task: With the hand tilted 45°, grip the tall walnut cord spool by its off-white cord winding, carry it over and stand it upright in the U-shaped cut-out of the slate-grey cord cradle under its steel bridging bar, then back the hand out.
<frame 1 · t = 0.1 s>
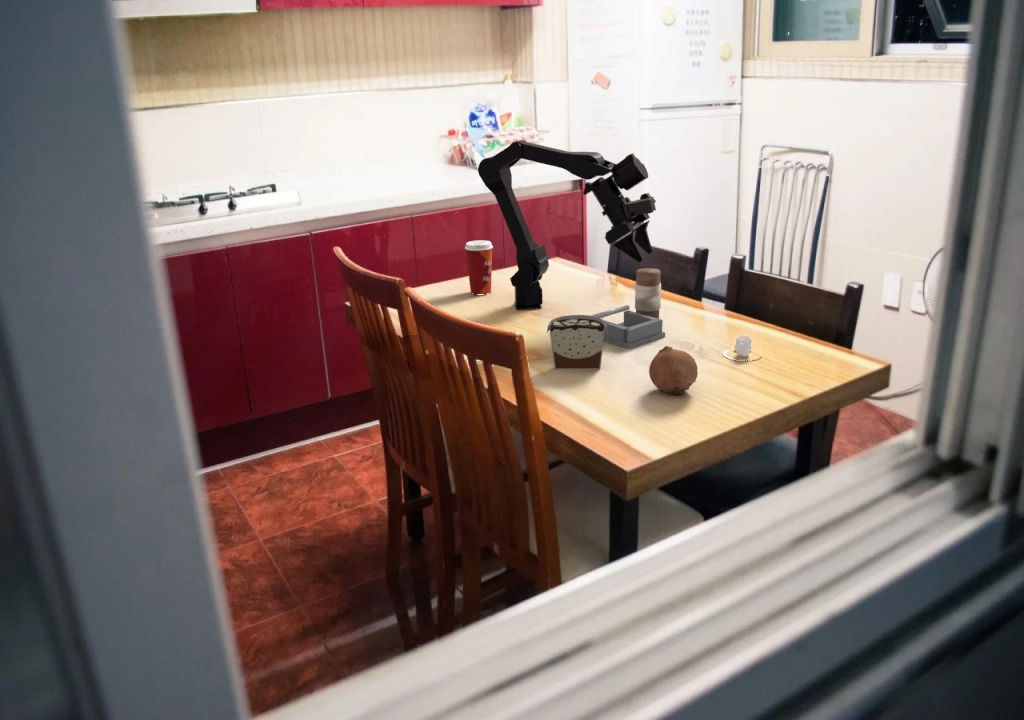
hand: (646, 257, 199), 15 cm above the table, tool tilted 35°, fingers open, 9 cm apart
cord cradle: (625, 336, 190), on the table
cord spool: (647, 321, 199), on the table
teacup and saucer: (755, 356, 176), on the table
paper cup: (481, 293, 229), on the table
onion: (672, 392, 158), on the table
food container: (577, 365, 174), on the table
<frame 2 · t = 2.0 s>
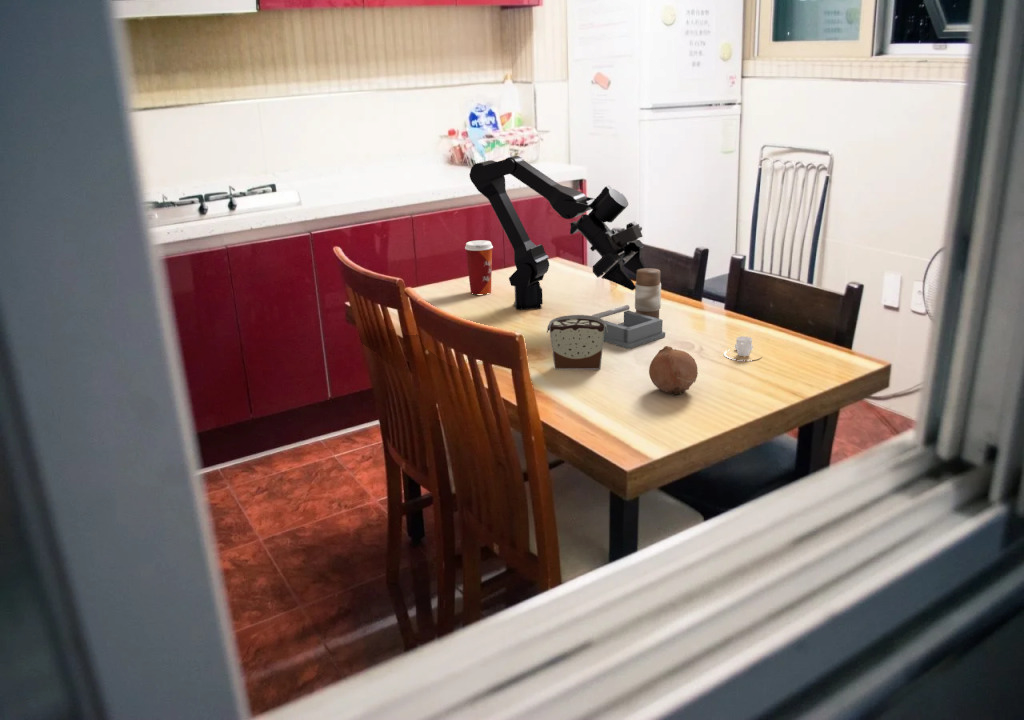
hand: (641, 284, 197), 9 cm above the table, tool tilted 45°, fingers open, 9 cm apart
nothing on the table moved.
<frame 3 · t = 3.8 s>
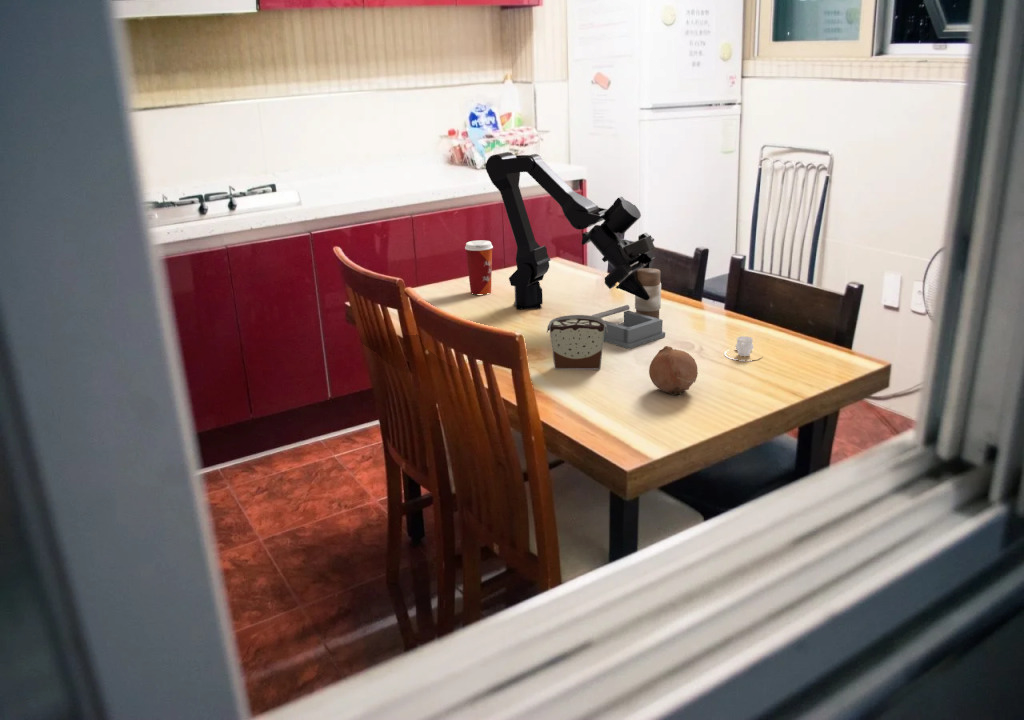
hand: (653, 295, 196), 7 cm above the table, tool tilted 45°, fingers closed on cord spool, 6 cm apart
cord spool: (647, 321, 199), on the table, touching gripper
everything else where it was.
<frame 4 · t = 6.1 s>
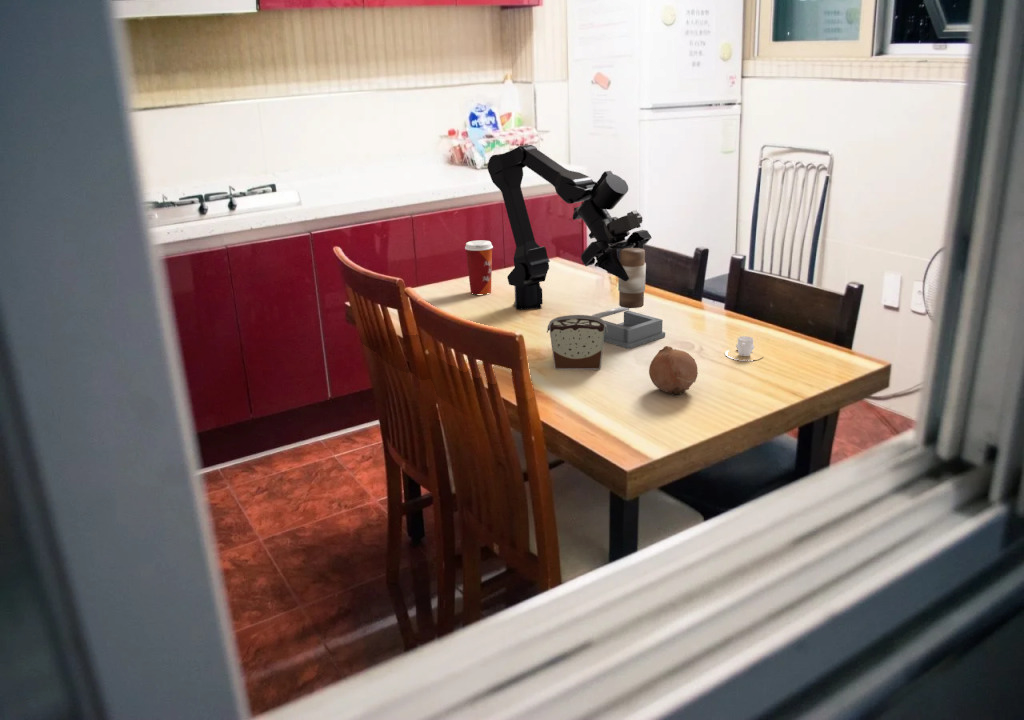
hand: (636, 277, 186), 14 cm above the table, tool tilted 45°, fingers closed on cord spool, 6 cm apart
cord spool: (631, 304, 189), point 7 cm above the table, touching gripper
everything else where it was.
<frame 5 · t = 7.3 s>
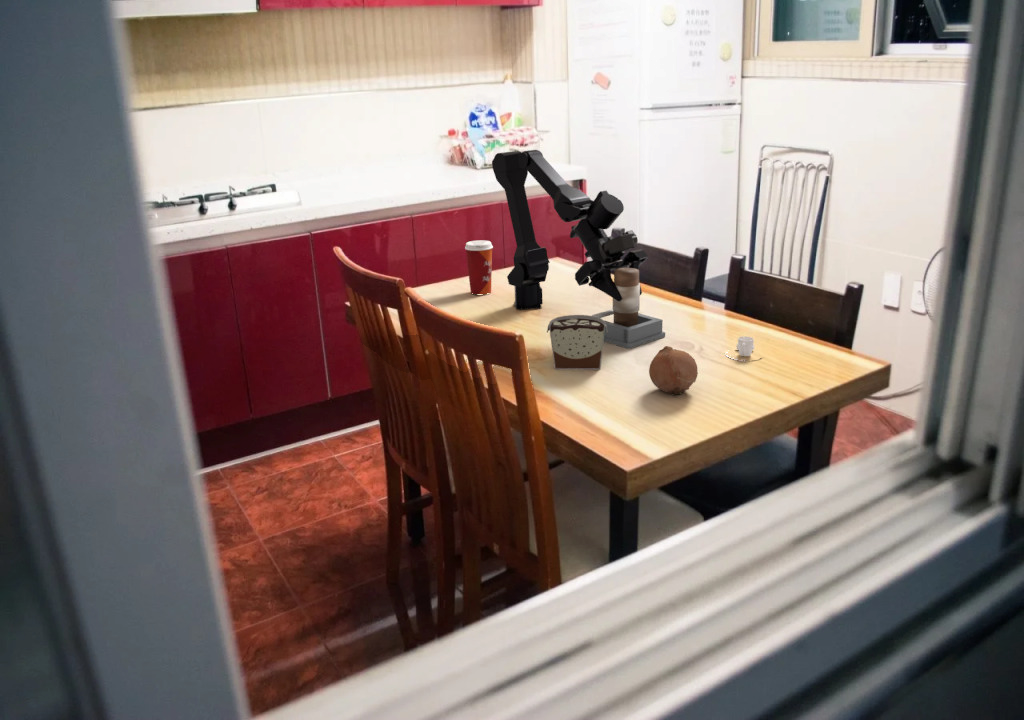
hand: (630, 297, 186), 9 cm above the table, tool tilted 45°, fingers closed on cord spool, 6 cm apart
cord spool: (625, 324, 189), point 3 cm above the table, touching gripper
everything else where it was.
when the fingers open (9 cm above the table, at t = 8.3 s): cord spool drops 1 cm, resting on cord cradle.
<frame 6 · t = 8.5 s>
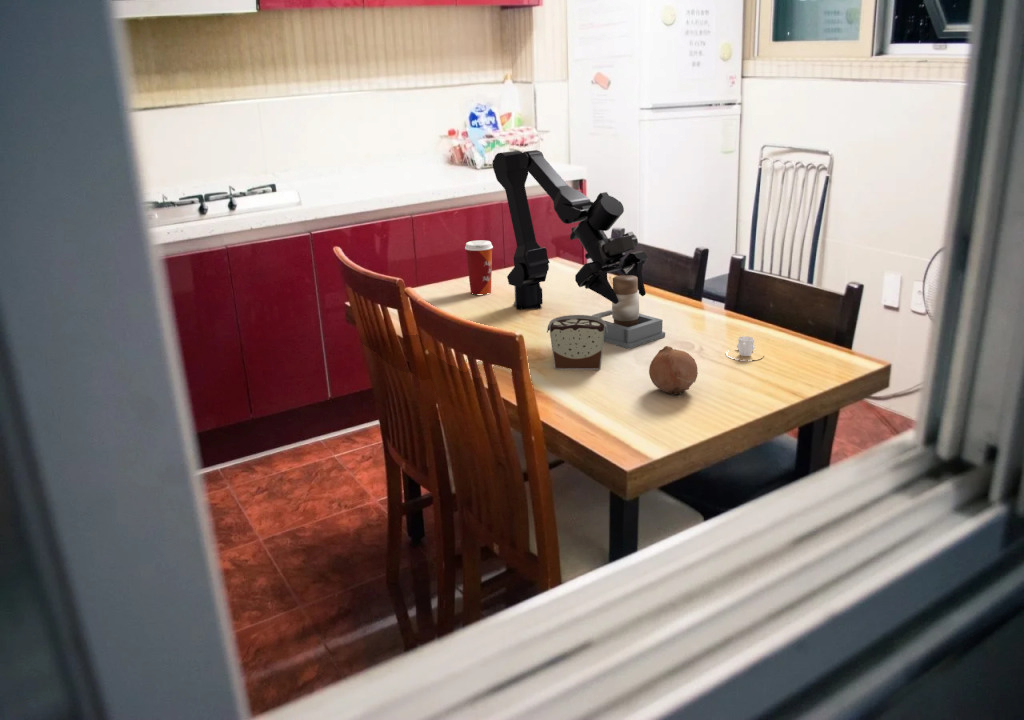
hand: (630, 299, 186), 9 cm above the table, tool tilted 45°, fingers open, 8 cm apart
cord spool: (625, 331, 189), point 1 cm above the table, touching cord cradle
everything else where it was.
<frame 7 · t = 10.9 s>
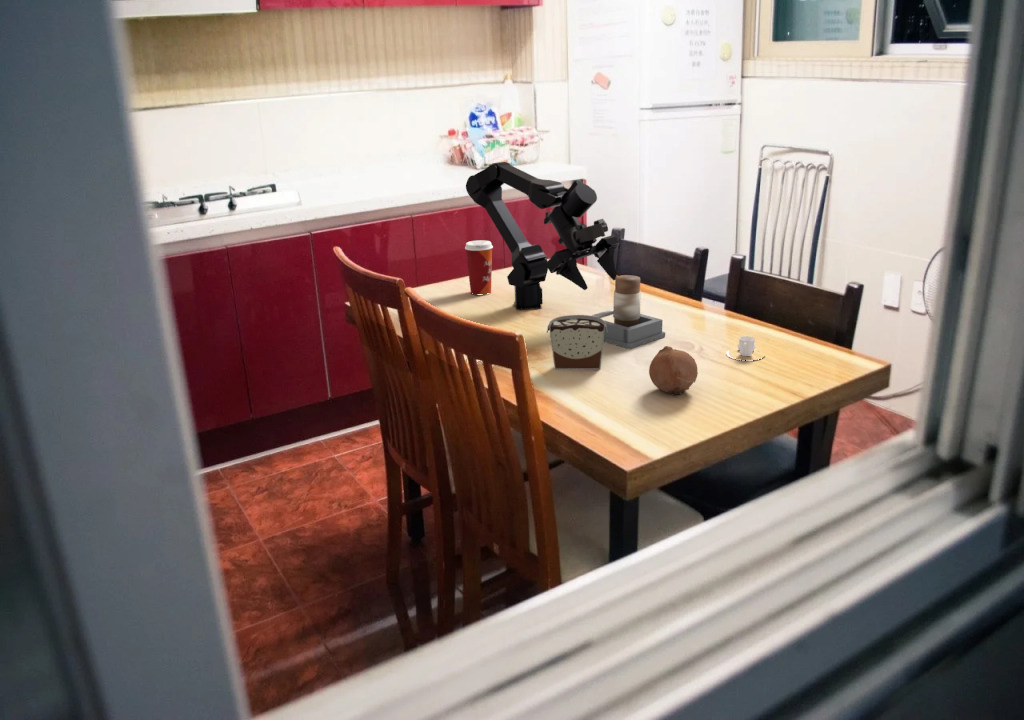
hand: (601, 284, 193), 10 cm above the table, tool tilted 40°, fingers open, 9 cm apart
nothing on the table moved.
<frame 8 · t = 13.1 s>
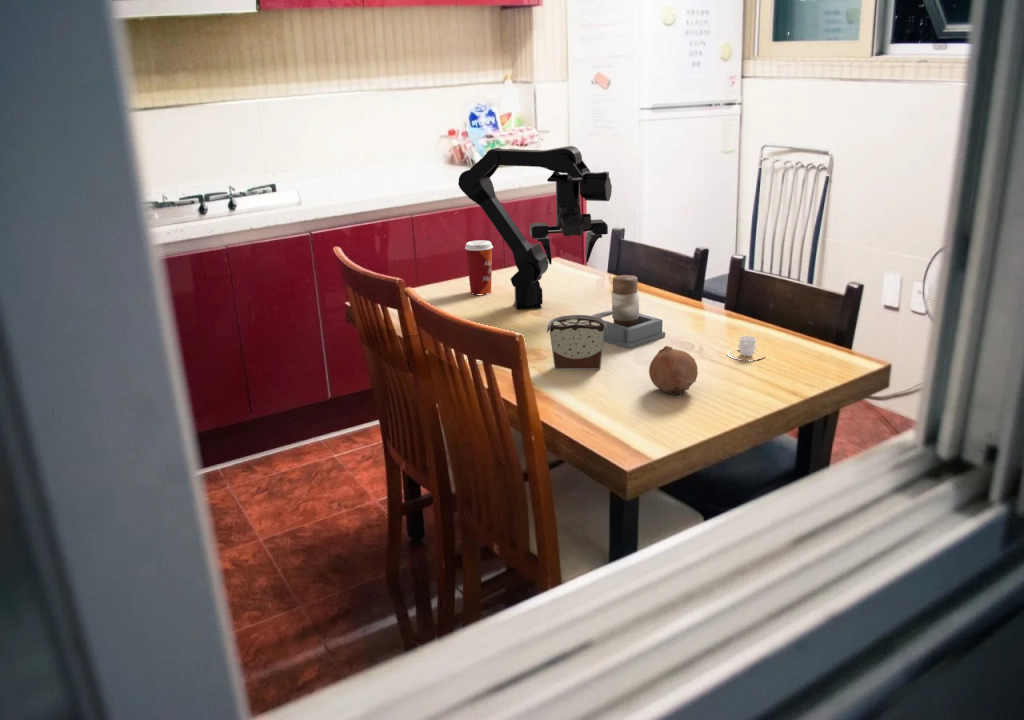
hand: (568, 263, 207), 12 cm above the table, tool pointing down, fingers open, 9 cm apart
nothing on the table moved.
at the end: cord spool 0.1 cm off-centre on the cord cradle, point 1.1 cm above the cord cradle's base; cord spool tilted 2°; the gripper is holding nothing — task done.
